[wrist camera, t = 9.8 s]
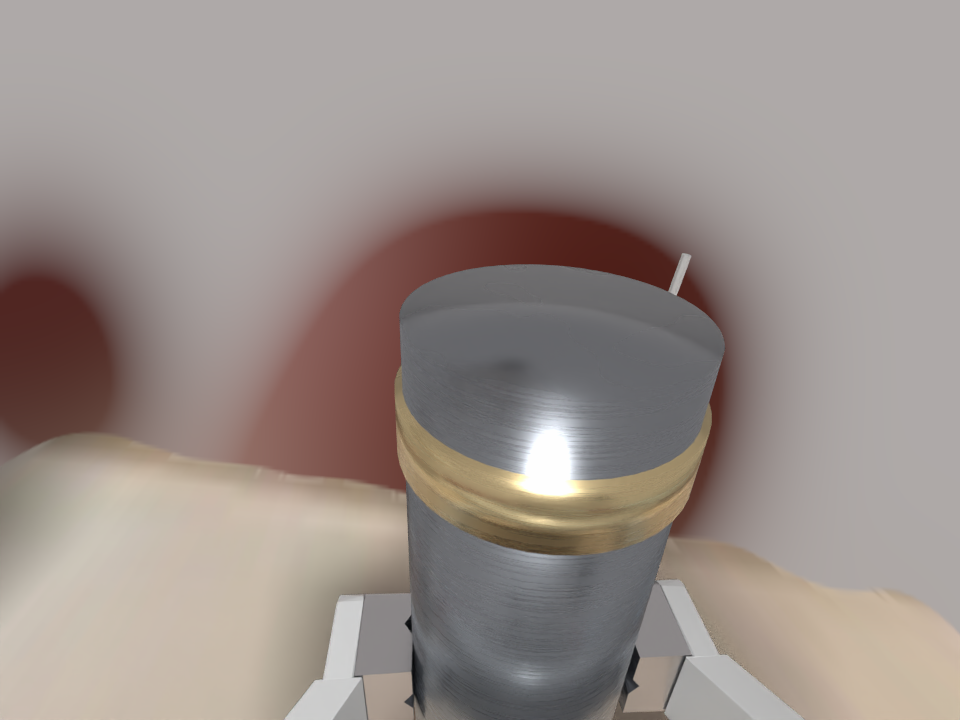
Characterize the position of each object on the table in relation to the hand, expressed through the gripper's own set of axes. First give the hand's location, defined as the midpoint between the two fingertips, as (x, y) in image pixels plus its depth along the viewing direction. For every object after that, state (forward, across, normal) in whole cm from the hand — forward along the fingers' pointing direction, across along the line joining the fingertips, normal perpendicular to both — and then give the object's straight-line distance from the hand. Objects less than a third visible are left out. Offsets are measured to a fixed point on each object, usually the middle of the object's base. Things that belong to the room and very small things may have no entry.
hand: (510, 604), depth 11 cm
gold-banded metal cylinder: (-1, 0, +9) cm, 9 cm away
